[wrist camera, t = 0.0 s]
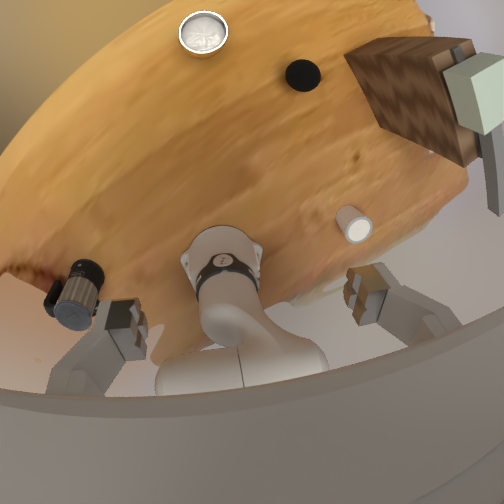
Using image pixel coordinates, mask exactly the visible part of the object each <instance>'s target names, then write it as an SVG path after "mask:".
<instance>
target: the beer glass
mask: <svg viewBox="0 0 504 504" xmlns="http://www.w3.org/2000/svg"><path fill="white" fill-rule="evenodd" d="M178 37H179V43H180V45H181V47H182V48H183V50H184V51H185V52H187V53H188V54H190V55H191V56H192V57H195V58H198V59H204V58H208V57H210V56H212V55H214V54H216V53H217V52H218V51H220V50H221V49H222V48H223V46H224V45H225V43H226V41H227V37H228V25H227V23H226V21H225V19H224V18H223V17H222V16H220V15H219V14H217V13H215V12H212V11H198V12H195V13H192V14H190V15H189V16H187V17H186V18H185V19H184V20H183V22H182V23H181V25H180V27H179V32H178Z"/></svg>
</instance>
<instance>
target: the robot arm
mask: <svg viewBox="0 0 504 504" xmlns="http://www.w3.org/2000/svg"><path fill="white" fill-rule="evenodd" d="M262 251H263V250H262V246H261V245H260V244H258V243H256V242H254V241H252V240H250V239H249V238H248V236H247V235H246V234H245V233H243V232H242V231H240V230H238V229H236V228H233V227H229V226H216V227H212V228H209V229H207V230H205V231H203V232H202V233H200V234H199V235H198V236H197V237H196V238H195V239H194V241H193V242H192V244H191V246H190V248H189V249H188V250H186V251H185V252H184V253H183V254H182V255H181V256H180V261H181V263H182V265H183V268H184V270H185V272H186V274H187V276H188V278H189V280H190V282H191V284H192V286H193V288H194V290H195V292H196V296H197V300H198V302H199V314H200V325H201V328H202V330H203V331H204V333H205V334H206V335H207V336H208V337H209V338H210V339H211V340H212V341H214V342H215V343H217V344H219V345H221V346H224V347H227V348H220V349H211V350H203V351H194V352H190V353H187V354H183V355H180V356H176V357H173V358H170V359H167V360H165V361H164V362H163V363H162V365H161V366H160V368H159V370H158V372H157V375H156V378H155V394H156V396H148V397H105V396H104V394H105V392H106V391H107V389H108V388H109V386H110V385H111V383H112V382H113V380H114V379H115V377H116V376H117V374H118V373H119V371H120V370H121V368H122V367H123V365H124V364H125V363H126V362H125V361H134V360H145V359H146V350H147V345H146V343H145V341H144V340H145V339H146V338H147V337H148V323H147V319H146V316H145V313H143V312H142V311H141V303H140V301H139V298H137V297H134V298H122V299H113V300H102V301H101V302H100V303H99V306H98V310H97V313H96V316H95V320H94V324H93V327H92V331H88V332H87V333H86V334H85V335H84V336H83V337H82V338H81V339H80V340H79V341H78V342H77V343H76V344H75V345H74V346H73V347H72V348H71V349H70V351H68V352H67V354H66V355H65V356H63V358H62V359H61V360H60V361H59V362H58V363H57V364H56V365H55V366H54V367H53V368H52V370H51V373H50V377H49V381H48V385H47V389H46V393H45V394H38V393H29V392H22V391H14V390H7V389H1V388H0V504H504V307H502V308H500V309H498V310H496V311H494V312H492V313H490V314H488V315H486V316H484V317H481V318H479V319H477V320H475V321H473V322H470V323H468V324H466V325H462V324H461V323H460V321H459V320H458V319H457V317H456V316H455V315H454V313H453V312H452V311H451V310H450V308H449V307H447V306H445V305H443V304H441V303H439V302H437V301H435V300H433V299H431V298H429V297H427V296H425V295H423V294H421V293H419V292H417V291H415V290H413V289H411V288H409V287H407V286H405V285H404V286H401V285H400V283H399V282H398V281H397V280H396V278H395V277H394V276H393V274H392V273H391V272H390V271H389V270H388V268H387V267H386V266H385V265H384V263H382V262H379V263H374V264H370V265H364V266H358V267H353V268H349V269H348V270H347V274H346V277H347V278H348V281H347V282H346V283H345V285H344V290H343V293H344V300H345V303H346V305H347V306H348V307H349V308H351V309H352V310H353V313H352V315H353V317H354V319H355V321H356V323H357V324H358V326H363V325H367V324H372V323H376V322H377V324H378V325H380V326H381V327H382V328H384V329H385V330H387V331H388V332H389V333H391V334H392V335H394V336H395V337H396V338H398V339H399V340H401V341H402V342H403V343H405V344H406V345H408V346H409V347H407V348H404V349H401V350H398V351H395V352H392V353H389V354H386V355H383V356H379V357H376V358H373V359H370V360H366V361H363V362H359V363H356V364H352V365H348V366H344V367H341V368H337V369H333V370H329V365H328V361H327V359H326V356H325V354H324V352H323V351H322V350H321V348H320V347H319V346H318V345H317V344H316V343H314V342H313V341H311V340H310V339H306V338H303V337H299V336H296V335H294V334H292V333H289V332H287V331H285V330H283V329H282V328H281V327H279V326H277V325H276V324H275V323H274V322H273V321H272V320H270V319H269V317H268V316H267V315H266V314H265V312H264V310H263V308H262V305H261V303H260V300H259V297H258V289H259V288H260V282H259V280H257V278H260V272H258V271H259V270H260V261H261V256H262ZM257 253H258V254H257ZM186 262H188V263H186ZM237 352H238V353H237Z"/></svg>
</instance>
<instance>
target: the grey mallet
mask: <svg viewBox="0 0 504 504" xmlns="http://www.w3.org/2000/svg"><path fill="white" fill-rule="evenodd" d="M443 74H444V77H445V80H446V83H447V86H448V89H449V92H450V95H451V98H452V102H453V105H454V108H455V112H456V115H457V119H458V123H459V125H461V126H463V127H466V128H468V129H471V130H473V131H475V132H478V135H479V140H480V145H481V151H482V157H483V163H484V172H485V180H486V189H487V201H488V209H489V210H491V211H492V212H493V213H495V214H496V215H497V216H499V217H500V216H501V215H502V214H503V213H504V138H503V131H502V125H501V122H503V121H504V56H500V55H494V54H489V53H483V52H480V53H478V54H476V55H474V56H472V57H470V58H468V59H466V60H464V61H462V62H460V63H459V64H457V65H455V66H453V67H451V68H449V69H447V70H445V71H443Z"/></svg>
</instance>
